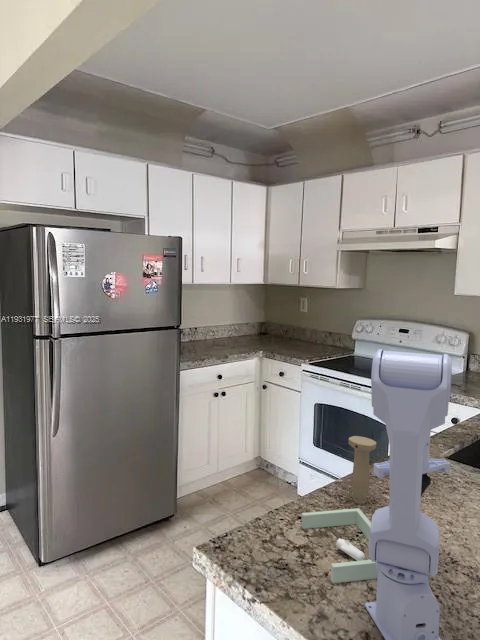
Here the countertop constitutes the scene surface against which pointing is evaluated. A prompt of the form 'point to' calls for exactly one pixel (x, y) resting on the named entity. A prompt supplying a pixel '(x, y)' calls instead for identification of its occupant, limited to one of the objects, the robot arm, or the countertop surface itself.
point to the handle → (361, 467)
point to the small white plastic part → (350, 549)
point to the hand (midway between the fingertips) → (409, 509)
